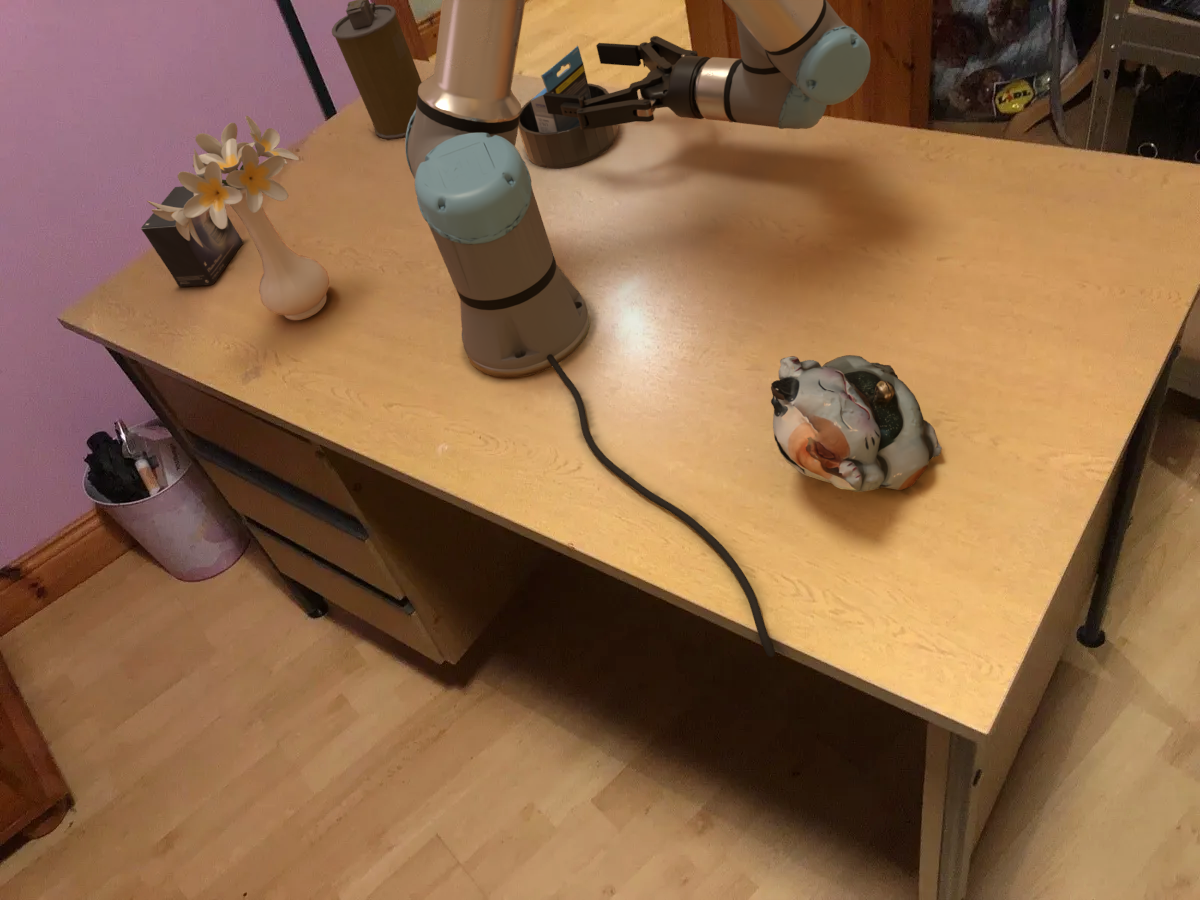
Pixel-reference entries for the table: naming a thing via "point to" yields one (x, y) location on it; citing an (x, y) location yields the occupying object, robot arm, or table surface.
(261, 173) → the flower vase
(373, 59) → the canister
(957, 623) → the table surface
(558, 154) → the round brown bowl
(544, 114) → the label tape box
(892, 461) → the lucky cat figurine
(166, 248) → the small box
